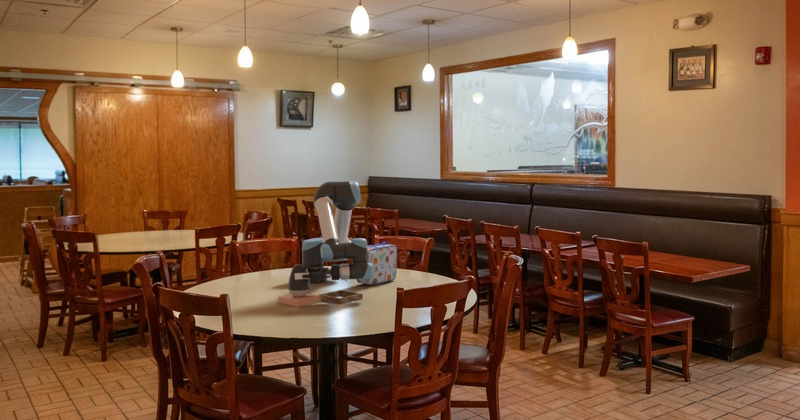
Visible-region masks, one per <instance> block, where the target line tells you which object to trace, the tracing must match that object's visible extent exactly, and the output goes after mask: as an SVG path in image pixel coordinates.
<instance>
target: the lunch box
mask: <svg viewBox="0 0 800 420" xmlns="http://www.w3.org/2000/svg"><path fill="white" fill-rule="evenodd" d="M367 248H368V249H367V261H368V263H371V264H372V277H371V278H368V279H355V280H356V282H358V283H359V284H363V285H367V286H368V285H369V286H374V285H380V284H384V283H387V282H391V281H394V280H395V279H396V277H397V274H398V273H397V271H398V270H397V269H398V267H397V265H398V264H397V263H398V247H397V246H396V245H394V244H390V243H389V242H388V241H383V242H382V243H377V244H373V245H372V244H370V245H367Z"/></svg>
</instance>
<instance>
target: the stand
mask: <svg viewBox="0 0 800 420" xmlns="http://www.w3.org/2000/svg"><path fill="white" fill-rule="evenodd" d="M321 302H322V300H321V299H320V295H318V294H313V293H311V292H310V293H309V292H308V294H307V295H305V296H303V297H294V296H292V295H291V294H290V293H289V294H283V295H279V296H277V303H278V304H283V305H288V306H293V307H296V308H298V307H303V306H308V305H313V304H317V303H321Z"/></svg>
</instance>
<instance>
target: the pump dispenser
mask: <svg viewBox="0 0 800 420" xmlns="http://www.w3.org/2000/svg"><path fill="white" fill-rule="evenodd" d="M308 268H310V265H308V266H306V267H304V266H303V264H300V263H296V264H295V265H294V266H293V267H292V268H291V272H290V274H289V278H288V284H287V285H288V287H287V289H288V291H289V294H291V295H292V296H294V297H303V296H305V295H307V294H308V293H309V292H310V289H311V283H310V282H309V279H295V273H307V272H306V269H308Z"/></svg>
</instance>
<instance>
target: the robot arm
mask: <svg viewBox="0 0 800 420" xmlns="http://www.w3.org/2000/svg"><path fill="white" fill-rule="evenodd" d="M361 199H362V197H361V190H360V186H359V183H358V182H357V181H354V180H352V181H351V180H349V181H347V180H346V181H345V180H344V181H343V180H342V181H325V182H324V183H322V184H321V185H320V186H319V187H318V188H317V189H316V190H315V192H314V194H313V199H312V201H313V206H314V208H315V209H316V212H317V217H318V220H319V227H320V231H321V233H320V234H321V236H322V237H314V238H310V239H305V240H304V241H302V244H301V245H302V246H301V254H302V255H301V256H302V257H301V258H302V265H303V266H304V267H306V266H308V265H310V268H308V269H306V272H307V273H295V279H309V282H310V284H319V283H325V282H327V281H328V278H329V279H330V278H331V280H332V281H339V280H341V281H345V282H346V281H347V280H356V279H368V278H371V277H372V264H371V263H368V261H367V249H368V248H367V246H368V241H367V239H366V238H363V237H358V238H357V237H356V238H352V239H350V238H349V237H348V236H349V231H350V225H351V219H352V213H353V212H352V211H353V210H354V209H356V206H357V205H358V204H360V203H361V202H362V201H361ZM333 205H334V206H335V211H333ZM350 259H351V263H340V264H338V263H337V264H336V263H334V264H333V263H332V264H331V265H330V268H329V267H325V265H324V263H325V262H343V261H348V260H350Z"/></svg>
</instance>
